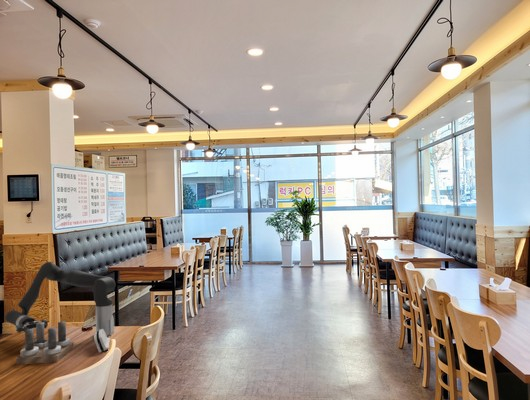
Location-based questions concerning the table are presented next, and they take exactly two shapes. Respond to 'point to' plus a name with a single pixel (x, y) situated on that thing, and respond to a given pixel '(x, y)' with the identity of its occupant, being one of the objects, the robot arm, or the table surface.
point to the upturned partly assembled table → (45, 346)
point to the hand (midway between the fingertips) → (37, 328)
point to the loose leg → (40, 333)
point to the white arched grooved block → (101, 340)
